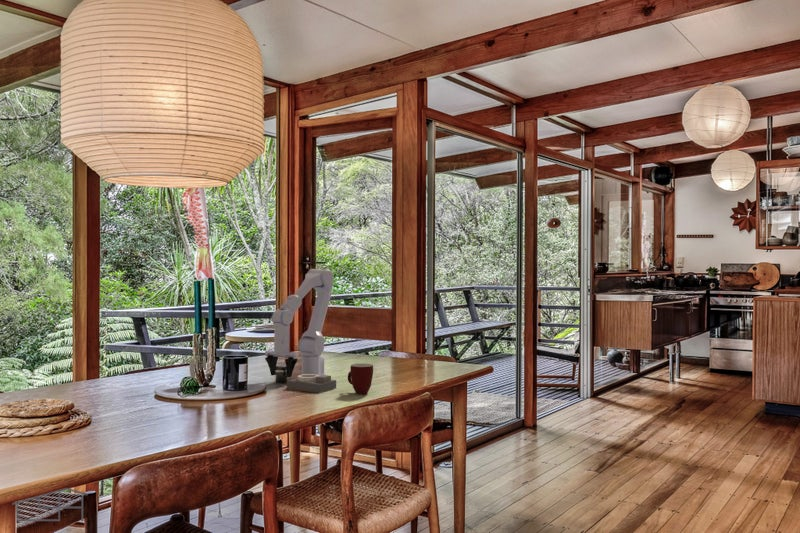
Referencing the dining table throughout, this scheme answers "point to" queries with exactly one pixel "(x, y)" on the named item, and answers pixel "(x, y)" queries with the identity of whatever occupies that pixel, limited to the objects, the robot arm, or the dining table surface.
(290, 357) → the robot arm
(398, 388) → the dining table surface
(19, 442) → the dining table surface
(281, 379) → the lens
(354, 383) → the mug
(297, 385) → the camera body
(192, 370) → the cup
